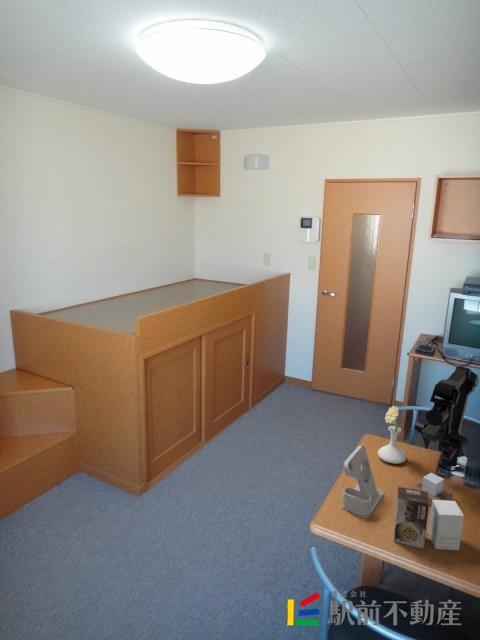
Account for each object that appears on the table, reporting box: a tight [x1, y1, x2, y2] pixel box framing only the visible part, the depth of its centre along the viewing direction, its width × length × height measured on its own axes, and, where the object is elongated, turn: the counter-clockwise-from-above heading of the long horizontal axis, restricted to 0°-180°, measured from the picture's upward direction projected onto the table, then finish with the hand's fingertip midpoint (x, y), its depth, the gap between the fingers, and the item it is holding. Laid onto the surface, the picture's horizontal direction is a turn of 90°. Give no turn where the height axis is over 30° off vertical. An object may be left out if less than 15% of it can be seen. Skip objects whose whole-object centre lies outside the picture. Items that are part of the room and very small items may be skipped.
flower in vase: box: [377, 405, 407, 465], centre depth 184 cm, size 13×11×25 cm
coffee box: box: [393, 486, 430, 549], centre depth 141 cm, size 9×6×16 cm
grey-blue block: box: [422, 472, 445, 496], centre depth 162 cm, size 5×5×5 cm
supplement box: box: [427, 500, 465, 551], centre depth 140 cm, size 7×7×13 cm
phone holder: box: [340, 445, 384, 519], centre depth 159 cm, size 17×10×18 cm, turn 145°
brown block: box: [411, 481, 454, 508], centre depth 163 cm, size 10×10×3 cm
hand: (437, 454), depth 168 cm, fingers open, 9 cm apart
